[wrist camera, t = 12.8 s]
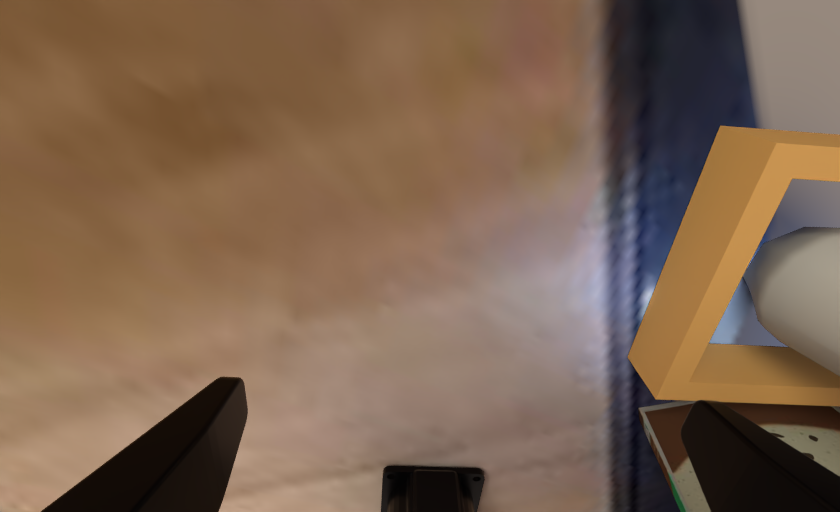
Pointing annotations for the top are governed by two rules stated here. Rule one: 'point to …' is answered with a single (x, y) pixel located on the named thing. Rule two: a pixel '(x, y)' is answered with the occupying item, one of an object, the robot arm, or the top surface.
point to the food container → (794, 424)
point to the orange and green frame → (731, 277)
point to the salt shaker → (800, 292)
